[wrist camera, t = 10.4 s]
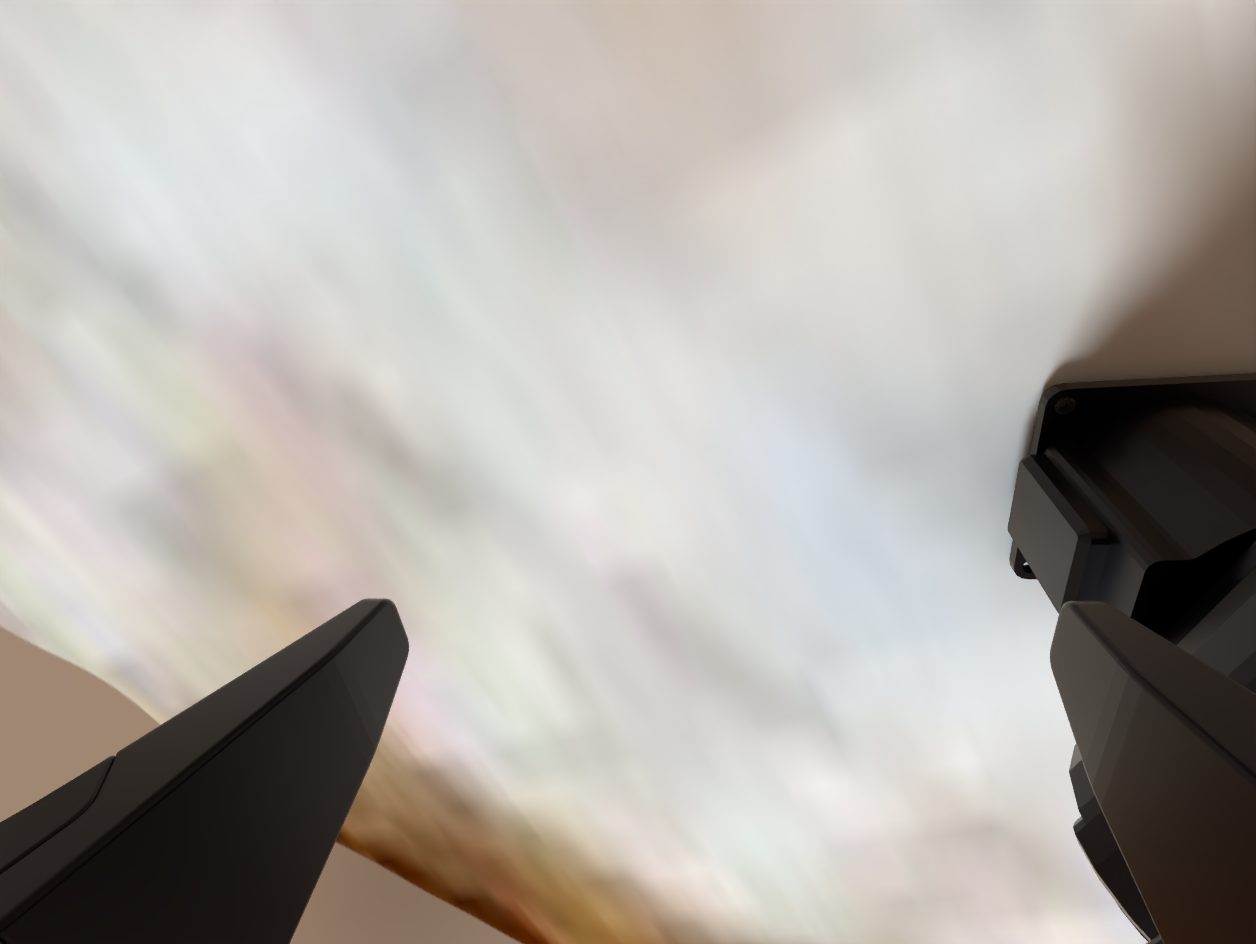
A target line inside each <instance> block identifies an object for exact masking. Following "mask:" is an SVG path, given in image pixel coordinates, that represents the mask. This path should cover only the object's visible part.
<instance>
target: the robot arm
mask: <svg viewBox="0 0 1256 944" xmlns="http://www.w3.org/2000/svg"><path fill="white" fill-rule="evenodd" d="M1066 397H1069V399H1070V400H1069V402H1068V404H1067V405H1065V406H1064V407H1062V408H1058V409H1057V408H1055V405H1056V403H1057V402H1058V401H1059V400H1061V399H1062V398H1066ZM1008 532H1009V533H1010V535H1011V537H1012V538H1013V543H1012V548H1011V554H1010V559H1009V560H1010V565H1011V567H1012V569H1013V570H1014V572H1015V573H1016V575H1017V576H1019V577H1021V578H1024V579H1038V581H1039V582H1040V584H1041V586H1042V587H1043V589H1044V591H1045V592H1046V594H1047V596H1048V597H1049V599H1050V600H1051V602H1052V604H1053V605H1054V607H1055V609H1056V610H1057V612H1058V613H1059V617H1058V621H1057V625H1056V629H1055V633H1054V637H1053V641H1052V645H1051V650H1050V663H1051V668H1052V671H1053V675H1054V678H1055V681H1056V684H1057V687H1058V690H1059V693H1060V696H1061V699H1062V702H1063V705H1064V708H1065V711H1066V714H1067V717H1068V720H1069V723H1070V726H1071V729H1072V732H1073V735H1074V738H1075V741H1076V745H1075V747H1074V751H1073V756H1072V760H1071V765H1070V770H1069V773H1070V777H1071V781H1072V785H1073V789H1074V793H1075V797H1076V801H1077V805H1078V809H1079V812H1080V814H1081V817H1080V818H1079V819H1078V820H1077V821H1076V822H1075V823H1074V826H1073V828H1074V832H1075V835H1076V837H1077V840H1078V843H1079V845H1080V846H1081V848H1082V850H1083V852H1084V853H1085V855H1086V857H1087V859H1088V860H1089V862H1090V864H1091V866H1092V867H1093V869H1094V871H1095V873H1096V875H1097V876H1098V878H1099V880H1100V881H1101V882H1102V884H1103V885H1104V886H1105V888H1106V889H1107V890H1108V892H1109V893H1110V894H1111V896H1112V897H1113V898H1114V900H1115V901H1116V903H1117V904H1118V906H1119V907H1120V909H1121V910H1122V912H1123V913H1124V914H1125V915H1126V917H1127V918H1128V919H1129V920H1130V921H1131V923H1132V924H1133V925H1134V926H1135V928H1136V929H1137V930H1138V931H1139V933H1140V934H1141V935H1142V936H1143V937H1144V938H1145V939H1146V940H1147V941H1148V943H1146V944H1256V374H1237V375H1217V376H1198V377H1179V378H1159V379H1140V380H1121V381H1101V382H1082V383H1063V384H1058V385H1054V386H1053V387H1051V388H1049V389H1047V390H1046V391H1045V393H1044V394H1043V395H1042V397H1041V399H1040V402H1039V407H1038V413H1037V418H1036V423H1035V428H1034V434H1033V439H1032V444H1031V449H1030V454H1028V455H1026V456H1025V457H1024V458H1023V459H1022V461H1021V462H1020V464H1019V469H1018V475H1017V480H1016V485H1015V491H1014V496H1013V502H1012V507H1011V513H1010V518H1009V523H1008ZM1025 562H1027V563H1028V564H1029V565H1023V564H1024V563H1025ZM408 652H409V642H408V638H407V635H406V632H405V630H404V627H403V624H402V622H401V619H400V616H399V613H398V611H397V608H396V606H395V604H394V603H393V602H392V601H391V600H389V599H364V600H361V601H359V602H358V603H356V604H354V605H353V606H351V607H350V608H348V609H346V610H345V611H343V612H342V613H340V614H338V615H337V616H335V617H334V618H332V619H330V620H329V621H327V622H326V623H324V624H322V625H321V626H319V627H318V628H316V629H314V630H313V631H311V632H309V633H308V634H306V635H305V636H303V637H301V638H300V639H298V640H297V641H295V642H293V643H292V644H290V645H289V646H287V647H285V648H284V649H282V650H281V651H279V652H277V653H276V654H274V655H273V656H271V657H269V658H268V659H266V660H265V661H263V662H261V663H260V664H258V665H256V666H255V667H253V668H252V669H250V670H248V671H247V672H245V673H244V674H242V675H240V676H239V677H237V678H236V679H234V680H232V681H231V682H229V683H228V684H226V685H224V686H223V687H221V688H220V689H218V690H216V691H215V692H213V693H212V694H210V695H208V696H207V697H205V698H203V699H202V700H200V701H199V702H197V703H195V704H194V705H192V706H191V707H189V708H187V709H186V710H184V711H183V712H181V713H179V714H178V715H176V716H175V717H173V718H171V719H170V720H168V721H167V722H165V723H163V724H162V725H160V726H159V727H157V728H155V729H154V730H152V731H151V732H149V733H147V734H146V735H144V736H143V737H141V738H139V739H138V740H136V741H134V742H133V743H131V744H130V745H128V746H126V747H125V748H123V749H122V750H120V751H119V752H118V753H117V754H116V756H110V757H108V758H107V759H105V760H104V761H102V762H101V763H99V764H97V765H96V766H94V767H92V768H91V769H89V770H88V771H86V772H84V773H83V774H81V775H80V776H78V777H77V778H75V779H73V780H72V781H70V782H68V783H66V784H65V785H63V786H62V787H60V788H58V789H57V790H55V791H53V792H52V793H50V794H48V795H47V796H45V797H43V798H42V799H40V800H39V801H37V802H35V803H33V804H32V805H30V806H28V807H27V808H25V809H23V810H21V811H20V812H18V813H16V814H15V815H13V816H11V817H9V818H8V819H6V820H4V821H2V822H0V944H290V942H291V939H292V937H293V935H294V933H295V930H296V928H297V926H298V924H299V922H300V919H301V917H302V915H303V913H304V910H305V908H306V906H307V904H308V902H309V899H310V897H311V895H312V893H313V890H314V888H315V886H316V884H317V881H318V879H319V877H320V875H321V873H322V870H323V868H324V866H325V864H326V861H327V859H328V857H329V855H330V853H331V850H332V848H333V846H334V844H335V842H336V839H337V837H338V835H339V833H340V830H341V828H342V826H343V824H344V822H345V819H346V817H347V815H348V813H349V810H350V808H351V806H352V804H353V801H354V799H355V797H356V795H357V793H358V790H359V788H360V786H361V784H362V781H363V779H364V777H365V775H366V773H367V770H368V768H369V766H370V763H371V761H372V759H373V756H374V754H375V752H376V749H377V746H378V744H379V741H380V738H381V735H382V732H383V729H384V726H385V723H386V720H387V717H388V714H389V711H390V708H391V705H392V702H393V699H394V696H395V693H396V690H397V687H398V684H399V681H400V678H401V675H402V672H403V669H404V666H405V663H406V660H407V657H408Z"/></svg>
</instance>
